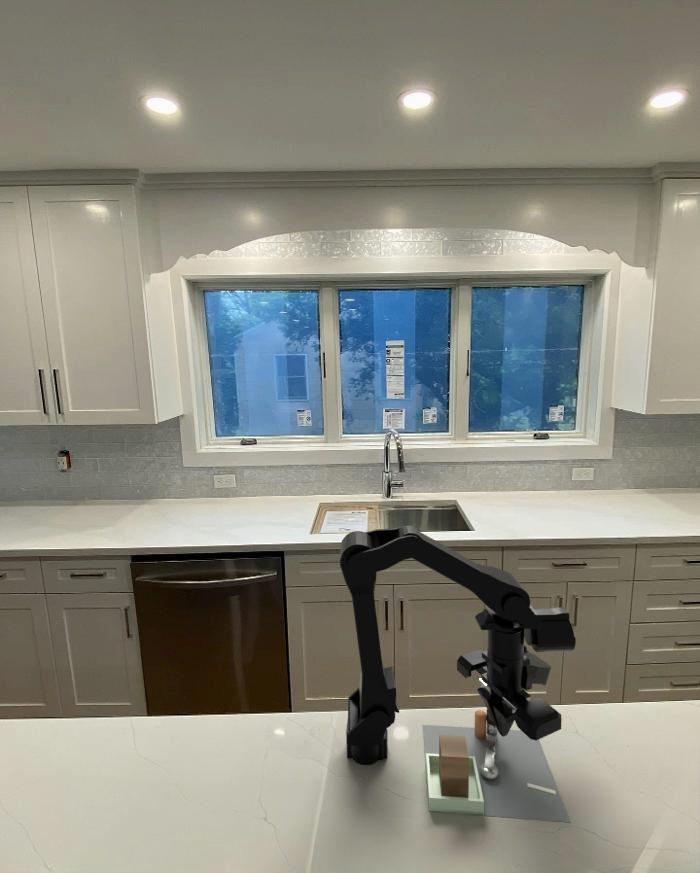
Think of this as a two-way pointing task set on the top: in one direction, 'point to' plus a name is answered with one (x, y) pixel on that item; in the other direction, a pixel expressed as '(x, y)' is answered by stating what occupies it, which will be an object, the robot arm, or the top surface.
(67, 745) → the top surface
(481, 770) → the crank
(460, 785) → the block
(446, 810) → the tray
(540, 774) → the plate
